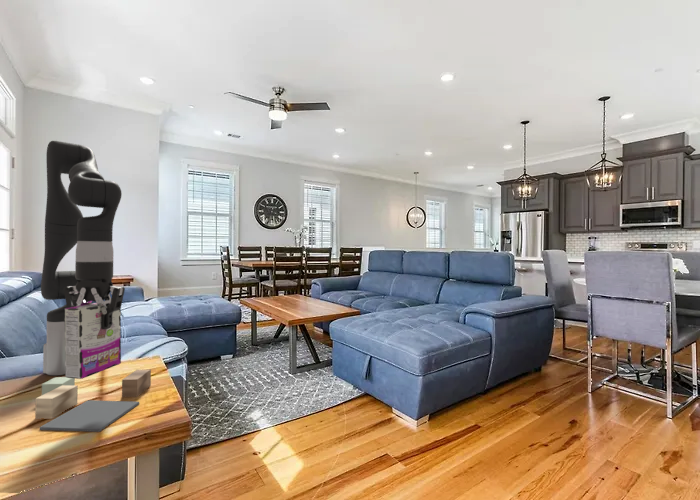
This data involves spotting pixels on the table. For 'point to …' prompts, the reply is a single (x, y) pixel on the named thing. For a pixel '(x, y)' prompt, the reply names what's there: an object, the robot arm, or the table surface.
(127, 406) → the mat
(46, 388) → the sage cube
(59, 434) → the table surface
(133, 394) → the walnut block
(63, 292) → the robot arm
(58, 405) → the beech block
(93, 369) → the candy bar box
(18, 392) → the table surface
